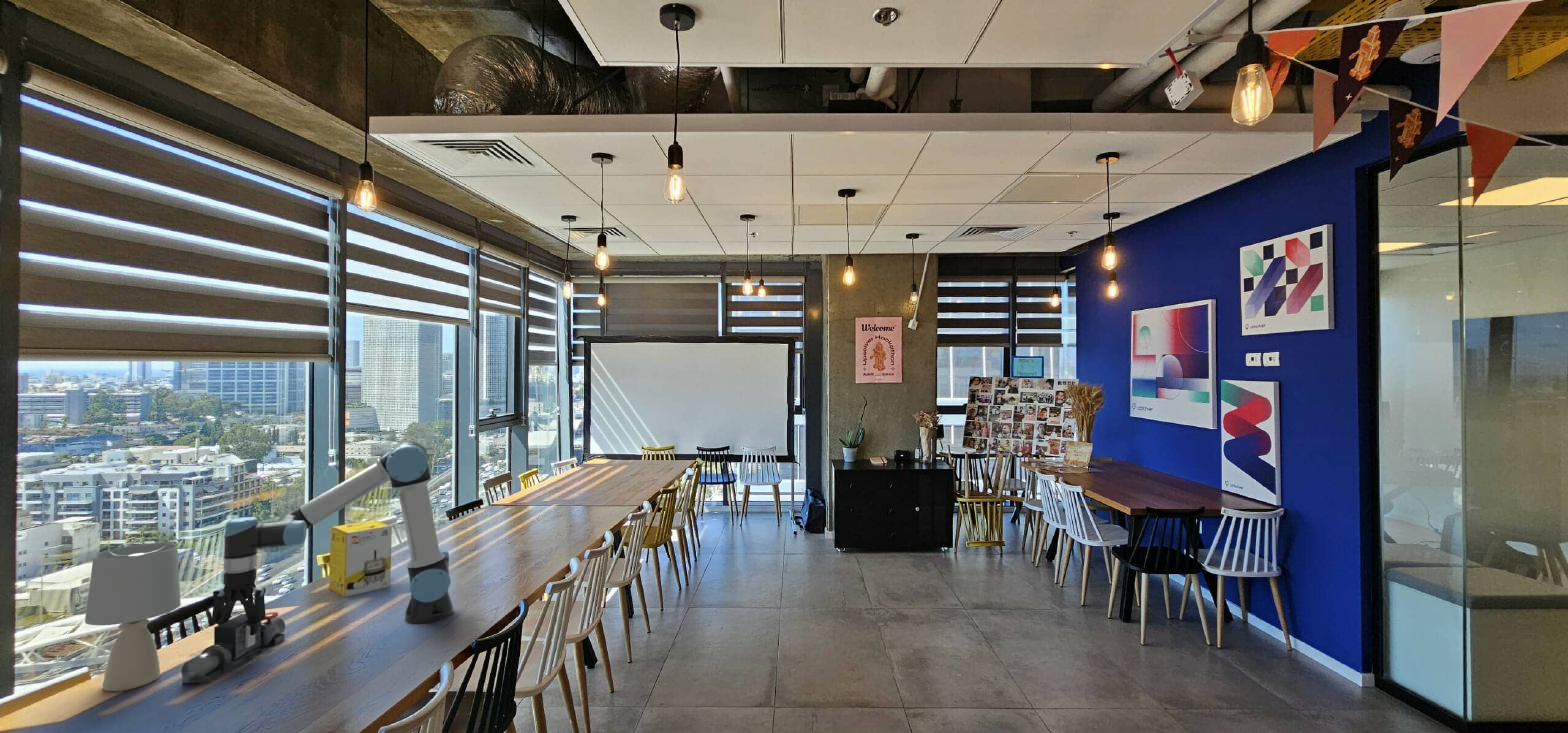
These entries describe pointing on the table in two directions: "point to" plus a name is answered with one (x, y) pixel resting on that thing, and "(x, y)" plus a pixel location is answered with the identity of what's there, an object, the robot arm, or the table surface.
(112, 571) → the lamp
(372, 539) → the packaging box
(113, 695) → the table surface
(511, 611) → the table surface
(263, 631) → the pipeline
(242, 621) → the small box
